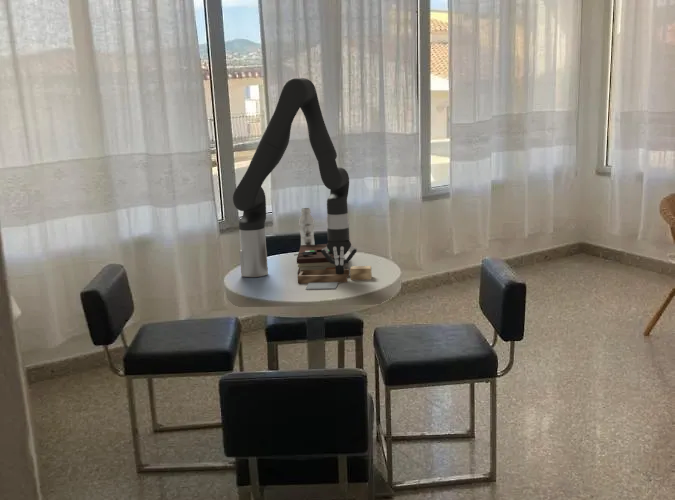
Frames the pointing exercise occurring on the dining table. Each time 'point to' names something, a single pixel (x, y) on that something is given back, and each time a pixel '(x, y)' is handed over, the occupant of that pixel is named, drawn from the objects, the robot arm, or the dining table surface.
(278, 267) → the dining table surface
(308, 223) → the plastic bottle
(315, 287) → the rubber pad
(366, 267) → the block
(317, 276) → the shelf bay
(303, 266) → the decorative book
